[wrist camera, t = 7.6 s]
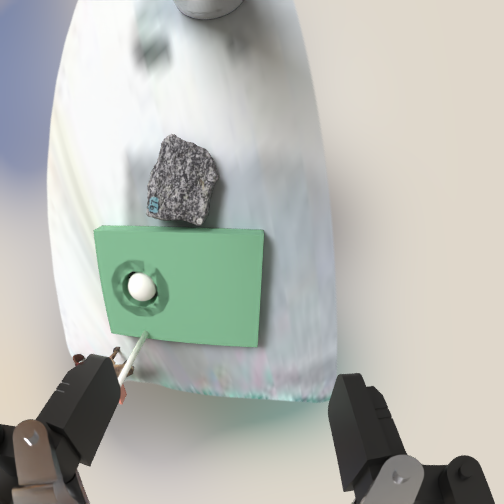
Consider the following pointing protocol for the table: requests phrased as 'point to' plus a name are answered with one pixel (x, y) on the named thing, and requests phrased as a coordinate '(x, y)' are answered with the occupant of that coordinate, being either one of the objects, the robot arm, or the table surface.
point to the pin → (130, 364)
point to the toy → (117, 367)
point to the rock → (181, 182)
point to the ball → (141, 286)
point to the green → (183, 282)
